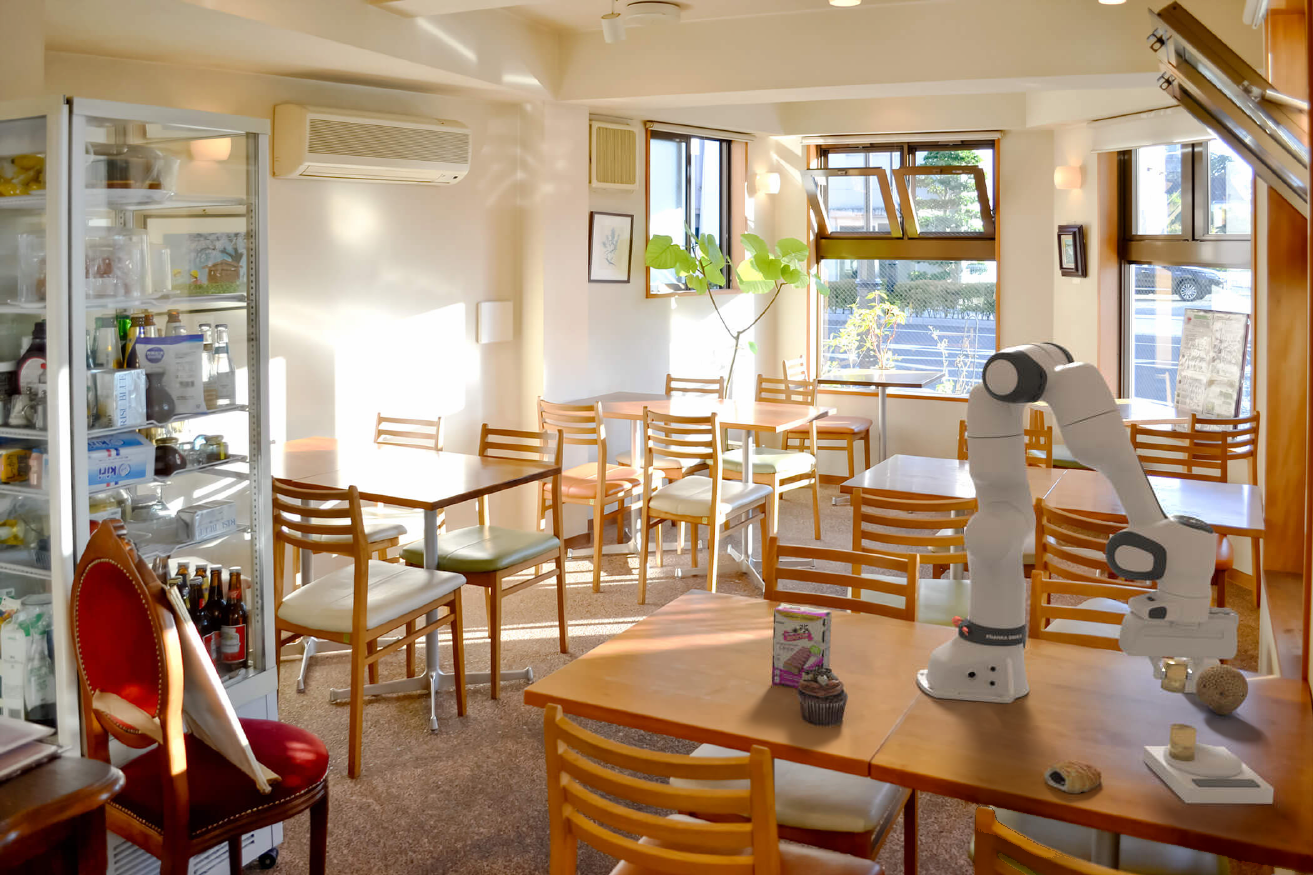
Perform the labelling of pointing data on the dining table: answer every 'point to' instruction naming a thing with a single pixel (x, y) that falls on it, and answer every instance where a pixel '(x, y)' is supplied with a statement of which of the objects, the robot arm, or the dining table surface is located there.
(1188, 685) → the medicine bottle
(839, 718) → the cupcake
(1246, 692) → the natural sponge
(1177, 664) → the cylinder
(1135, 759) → the dining table surface
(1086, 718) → the dining table surface
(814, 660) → the candy bar box
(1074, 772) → the pastry
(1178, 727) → the cylinder
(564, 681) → the dining table surface
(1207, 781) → the scale
